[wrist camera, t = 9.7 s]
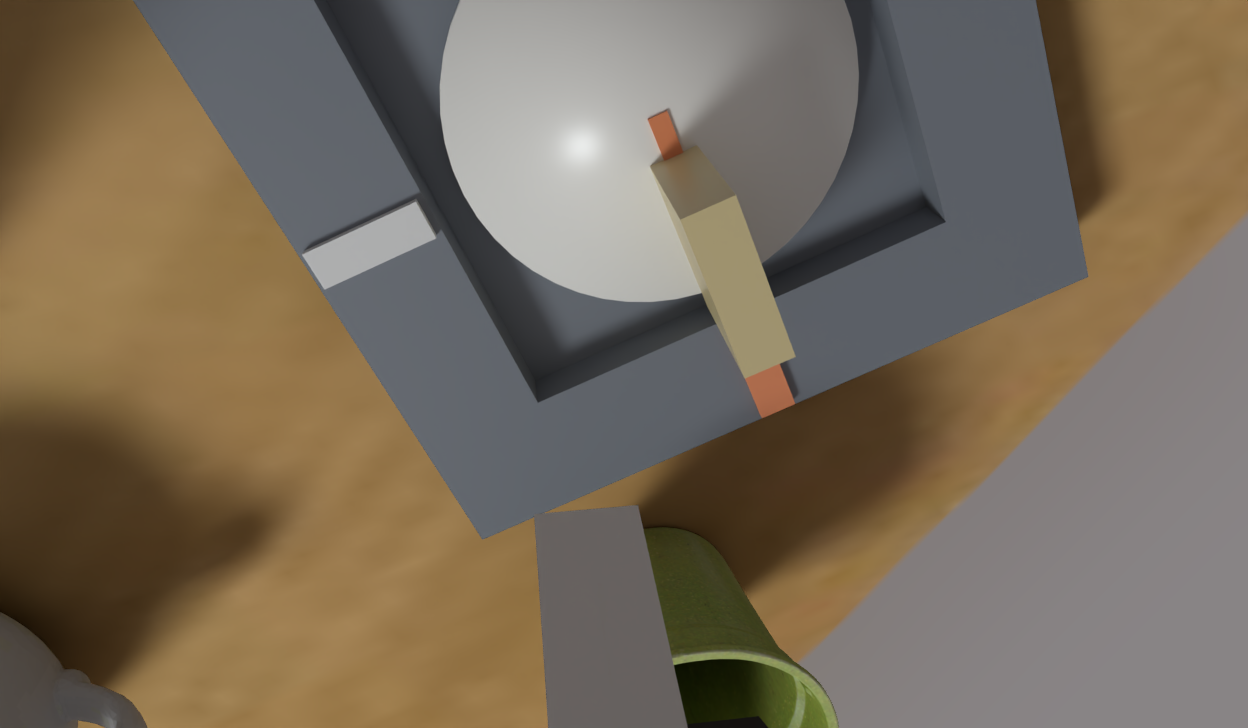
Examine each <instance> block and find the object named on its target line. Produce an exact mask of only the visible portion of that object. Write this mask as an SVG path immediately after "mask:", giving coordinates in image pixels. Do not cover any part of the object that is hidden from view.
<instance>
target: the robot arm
mask: <svg viewBox="0 0 1248 728" xmlns="http://www.w3.org/2000/svg"><path fill="white" fill-rule="evenodd" d="M534 519H535V534H536V549H537V564H538V579H539V594H540V609H541V624H542V639H543V654H544V669H545V684H546V700H547V715H548V728H768V727H767V725H766V724H765V723H764V722H763V721H762V719H761V718H760V717H759V716H755V717H747V718H738V719H729V720H720V721H711V722H702V723H693V724H687V722H686V718H685V714H684V709H683V705H682V700H681V696H680V691H679V687H678V682H677V678H676V673H675V669H674V664H673V660H672V655H671V651H670V646H669V642H668V637H667V633H666V629H665V624H664V620H663V615H662V611H661V606H660V602H659V597H658V593H657V588H656V584H655V579H654V575H653V570H652V566H651V561H650V557H649V553H648V548H647V544H646V539H645V535H644V530H643V526H642V521H641V517H640V512H639V508H638V505H634V506H622V507H611V508H600V509H588V510H577V511H566V512H554V513H543V514H534Z"/></svg>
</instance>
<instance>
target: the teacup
mask: <svg viewBox="0 0 1248 728" xmlns="http://www.w3.org/2000/svg"><path fill="white" fill-rule="evenodd" d="M78 720H79V721H86V722H90V723H95V724H98V725H101V726H104V727H105V728H147V725H146V723H145V721H144V719H143V717H142V715H141V714H140V712H139V711H138V710H137V708H136V707H135V706H134V704H133V703H132V702H131V701H130V700H128V699H127V698H126V697H124V696H123V695H121V694H119V693H116V692H114V691H112V690H110V689H107V688H105V687H101V686H98V685H95V684H91V682H90V680H89V678H88V676H87V675H86V674H84V673H83V672H82V671H80V670H76V669H63V667H62V665H61V663H60V662H59V660H58V659H57V658H56V657H55V655H54V654H53V653H52V652H51V651H50V649H49V648H48V647H47V646H46V645H45V643H44V642H43V641H42V640H40V639H39V638H38V637H37V636H36V635H35V634H33V633H32V632H31V631H30V630H29V629H27V628H26V627H24V626H23V625H21V624H20V623H18V622H17V621H15V620H14V619H12V618H10V617H9V616H7V615H5V614H3V613H1V612H0V728H78Z"/></svg>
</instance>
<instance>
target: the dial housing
mask: <svg viewBox="0 0 1248 728" xmlns="http://www.w3.org/2000/svg"><path fill="white" fill-rule="evenodd" d="M133 1H134V3H135V4H136V6H137V7H138V9H139V10H140V12H141V13H142V15H143V16H144V18H145V19H146V21H147V23H148V24H149V26H150V27H151V29H152V30H153V32H154V33H155V35H156V36H157V38H158V40H159V41H160V43H161V44H162V46H163V47H164V49H165V50H166V52H167V53H168V55H169V57H170V58H171V60H172V61H173V63H174V64H175V66H176V67H177V69H178V70H179V72H180V73H181V75H182V77H183V78H184V80H185V81H186V83H187V84H188V86H189V87H190V89H191V90H192V92H193V94H194V95H195V97H196V98H197V100H198V101H199V103H200V104H201V106H202V107H203V109H204V111H205V112H206V114H207V115H208V117H209V118H210V120H211V121H212V123H213V124H214V126H215V127H216V129H217V131H218V132H219V134H220V135H221V137H222V138H223V140H224V141H225V143H226V144H227V146H228V148H229V149H230V151H231V152H232V154H233V155H234V157H235V158H236V160H237V161H238V163H239V165H240V166H241V168H242V169H243V171H244V172H245V174H246V175H247V177H248V178H249V180H250V181H251V183H252V185H253V186H254V188H255V189H256V191H257V192H258V194H259V195H260V197H261V198H262V200H263V202H264V203H265V205H266V206H267V208H268V209H269V211H270V212H271V214H272V215H273V217H274V219H275V220H276V222H277V223H278V225H279V226H280V228H281V229H282V231H283V232H284V234H285V235H286V237H287V239H288V240H289V242H290V243H291V245H292V246H293V248H294V249H295V251H296V252H297V254H298V256H299V257H300V259H301V260H302V262H303V263H304V265H305V266H306V268H307V269H308V271H309V273H310V274H311V276H312V277H313V279H314V280H315V282H316V283H317V285H318V286H319V288H320V289H321V291H322V293H323V294H324V296H325V297H326V299H327V300H328V302H329V303H330V305H331V306H332V308H333V310H334V311H335V313H336V314H337V316H338V317H339V319H340V320H341V322H342V323H343V325H344V326H345V328H346V330H347V331H348V333H349V334H350V336H351V337H352V339H353V340H354V342H355V343H356V345H357V347H358V348H359V350H360V351H361V353H362V354H363V356H364V357H365V359H366V360H367V362H368V364H369V365H370V367H371V368H372V370H373V371H374V373H375V374H376V376H377V377H378V379H379V380H380V382H381V384H382V385H383V387H384V388H385V390H386V391H387V393H388V394H389V396H390V397H391V399H392V401H393V402H394V404H395V405H396V407H397V408H398V410H399V411H400V413H401V414H402V416H403V418H404V419H405V421H406V422H407V424H408V425H409V427H410V428H411V430H412V431H413V433H414V434H415V436H416V438H417V439H418V441H419V442H420V444H421V445H422V447H423V448H424V450H425V451H426V453H427V455H428V456H429V458H430V459H431V461H432V462H433V464H434V465H435V467H436V468H437V470H438V472H439V473H440V475H441V476H442V478H443V479H444V481H445V482H446V484H447V485H448V487H449V488H450V490H451V492H452V493H453V495H454V496H455V498H456V499H457V501H458V502H459V504H460V505H461V507H462V509H463V510H464V512H465V513H466V515H467V516H468V518H469V519H470V521H471V522H472V524H473V526H474V527H475V529H476V530H477V532H478V533H479V535H480V536H481V538H482V539H485V538H487V537H489V536H492V535H494V534H496V533H499V532H501V531H503V530H506V529H508V528H510V527H513V526H515V525H517V524H519V523H522V522H524V521H526V520H529V519H531V518H533V517H534V514H542V513H545V512H547V511H549V510H552V509H554V508H556V507H559V506H561V505H563V504H566V503H568V502H570V501H572V500H575V499H577V498H579V497H582V496H584V495H586V494H589V493H591V492H593V491H596V490H598V489H600V488H602V487H605V486H607V485H609V484H612V483H614V482H616V481H619V480H621V479H623V478H625V477H628V476H630V475H632V474H635V473H637V472H639V471H642V470H644V469H646V468H649V467H651V466H653V465H655V464H658V463H660V462H662V461H665V460H667V459H669V458H672V457H674V456H676V455H678V454H681V453H683V452H685V451H688V450H690V449H692V448H695V447H697V446H699V445H702V444H704V443H706V442H708V441H711V440H713V439H715V438H718V437H720V436H722V435H725V434H727V433H729V432H732V431H734V430H736V429H738V428H741V427H743V426H745V425H748V424H750V423H752V422H755V421H757V420H759V419H761V418H764V417H766V416H769V415H771V414H773V413H776V412H778V411H780V410H783V409H785V408H787V407H790V406H792V405H794V404H796V403H798V402H801V401H803V400H805V399H808V398H810V397H812V396H814V395H817V394H819V393H821V392H824V391H826V390H828V389H831V388H833V387H835V386H838V385H840V384H842V383H844V382H847V381H849V380H851V379H854V378H856V377H858V376H861V375H863V374H865V373H868V372H870V371H872V370H874V369H877V368H879V367H881V366H884V365H886V364H888V363H891V362H893V361H895V360H897V359H900V358H902V357H904V356H907V355H909V354H911V353H914V352H916V351H918V350H921V349H923V348H925V347H927V346H930V345H932V344H934V343H937V342H939V341H941V340H944V339H946V338H948V337H950V336H953V335H955V334H957V333H960V332H962V331H964V330H967V329H969V328H971V327H974V326H976V325H978V324H980V323H983V322H985V321H987V320H990V319H992V318H994V317H997V316H999V315H1001V314H1004V313H1006V312H1008V311H1010V310H1013V309H1015V308H1017V307H1020V306H1022V305H1024V304H1027V303H1029V302H1031V301H1033V300H1036V299H1038V298H1040V297H1043V296H1045V295H1047V294H1050V293H1052V292H1054V291H1057V290H1059V289H1061V288H1063V287H1066V286H1068V285H1070V284H1073V283H1075V282H1077V281H1080V280H1082V279H1084V278H1086V277H1088V272H1087V267H1086V262H1085V256H1084V251H1083V246H1082V241H1081V235H1080V230H1079V225H1078V220H1077V214H1076V209H1075V204H1074V199H1073V193H1072V188H1071V183H1070V178H1069V172H1068V167H1067V162H1066V157H1065V151H1064V146H1063V141H1062V136H1061V130H1060V125H1059V120H1058V115H1057V109H1056V104H1055V99H1054V94H1053V88H1052V83H1051V78H1050V73H1049V67H1048V62H1047V57H1046V52H1045V46H1044V41H1043V36H1042V31H1041V25H1040V20H1039V15H1038V10H1037V4H1036V0H844V1H845V3H846V6H847V9H848V12H849V15H850V18H851V21H852V26H853V31H854V36H855V40H856V45H857V56H858V69H859V83H858V103H857V108H856V114H855V120H854V126H853V130H852V134H851V137H850V140H849V144H848V147H847V151H846V154H845V156H844V159H843V161H842V163H841V166H840V168H839V170H838V173H837V175H836V177H835V180H834V181H833V183H832V185H831V186H830V188H829V190H828V192H827V193H826V195H825V197H824V199H823V200H822V202H821V203H820V205H819V206H818V207H817V209H816V210H815V211H814V213H813V214H812V216H811V217H810V218H809V220H808V221H807V222H806V224H805V225H804V226H803V227H802V228H801V229H800V230H799V231H798V232H797V233H796V234H795V235H794V236H793V237H792V238H791V239H790V241H789V242H788V243H786V244H785V245H784V246H783V247H782V248H781V249H779V250H778V251H777V252H776V253H775V254H773V255H772V256H771V257H770V258H769V259H767V260H766V261H764V262H763V263H761V264H762V267H763V269H764V272H765V275H766V278H767V280H768V283H769V286H770V288H771V291H772V294H773V296H774V299H775V302H776V305H777V307H778V310H779V313H780V315H781V318H782V321H783V324H784V326H785V329H786V332H787V334H788V337H789V340H790V343H791V345H792V348H793V351H794V353H795V356H796V357H794V358H792V359H790V360H787V361H785V362H783V363H780V364H778V365H776V366H773V367H771V368H769V369H766V370H764V371H762V372H759V373H757V374H755V375H752V376H750V377H748V378H744V376H743V374H742V372H741V371H740V369H739V367H738V365H737V363H736V361H735V359H734V357H733V355H732V353H731V351H730V349H729V347H728V346H727V344H726V342H725V340H724V338H723V336H722V334H721V332H720V330H719V328H718V326H717V324H716V323H715V321H714V319H713V317H712V315H711V313H710V311H709V309H708V307H707V305H706V302H705V300H704V297H703V295H702V293H700V294H696V295H692V296H687V297H683V298H679V299H673V300H665V301H656V302H624V301H616V300H609V299H602V298H598V297H594V296H590V295H586V294H582V293H578V292H576V291H573V290H571V289H568V288H566V287H563V286H561V285H558V284H556V283H554V282H552V281H550V280H548V279H547V278H545V277H543V276H541V275H539V274H538V273H536V272H534V271H532V270H531V269H530V268H528V267H527V266H526V265H524V264H523V263H521V262H520V261H519V260H517V259H516V258H515V257H513V256H512V255H511V254H510V253H509V252H508V251H507V250H506V249H505V248H504V247H503V246H502V245H501V244H500V243H499V242H497V241H496V240H495V239H494V238H493V236H492V235H491V234H490V233H489V231H488V230H487V229H486V228H485V226H484V225H483V224H482V223H481V221H480V220H479V219H478V218H477V216H476V214H475V213H474V211H473V209H472V208H471V206H470V205H469V203H468V201H467V200H466V198H465V196H464V195H463V192H462V190H461V188H460V186H459V183H458V181H457V179H456V177H455V174H454V172H453V170H452V166H451V163H450V159H449V156H448V153H447V149H446V146H445V142H444V135H443V129H442V122H441V116H440V79H441V70H442V60H443V53H444V49H445V45H446V40H447V36H448V32H449V28H450V24H451V21H452V18H453V16H454V13H455V11H456V8H457V6H458V3H459V0H133Z"/></svg>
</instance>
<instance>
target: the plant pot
mask: <svg viewBox="0 0 1248 728" xmlns="http://www.w3.org/2000/svg"><path fill="white" fill-rule="evenodd" d="M643 530H644V535H645V539H646V544H647V548H648V553H649V557H650V561H651V566H652V570H653V575H654V579H655V584H656V588H657V593H658V597H659V602H660V606H661V611H662V615H663V620H664V624H665V629H666V633H667V637H668V642H669V646H670V651H671V655H672V660H673V664H674V669H675V673H676V678H677V682H678V687H679V691H680V696H681V700H682V705H683V709H684V714H685V718H686V722H687V724H693V723H702V722H711V721H720V720H729V719H738V718H747V717H755V716H759V717H760V718H761V719H762V721H763V722H764V723H765V724H766V725H767V727H768V728H839V725H838V719H837V716H836V712H835V710H834V707H833V704H832V702H831V700H830V698H829V696H828V695H827V693H826V691H825V690H824V688H823V687H822V686H821V684H820V683H819V682H818V681H817V680H816V679H815V678H814V677H813V676H812V675H811V674H810V673H809V672H808V671H807V670H805V669H804V668H803V667H801V666H800V665H799V664H797V663H796V662H794V661H793V660H792V659H791V658H790V657H789V656H788V655H787V654H786V653H785V652H784V651H782V650H781V649H780V648H779V647H778V646H777V644H776V643H775V641H774V639H773V638H772V636H771V635H770V633H769V632H768V630H767V628H766V627H765V625H764V624H763V622H762V621H761V619H760V617H759V616H758V614H757V613H756V611H755V609H754V608H753V606H752V605H751V603H750V601H749V600H748V598H747V596H746V595H745V593H744V592H743V590H742V588H741V587H740V585H739V583H738V581H737V580H736V578H735V576H734V575H733V573H732V571H731V570H730V568H729V566H728V565H727V563H726V561H725V560H724V558H723V557H722V556H721V554H720V553H719V552H718V551H717V550H716V549H715V547H714V546H713V545H712V544H710V543H709V542H708V541H707V540H705V539H704V538H702V537H701V536H699V535H696V534H694V533H692V532H689V531H686V530H682V529H677V528H669V527H656V528H648V529H643Z"/></svg>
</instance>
